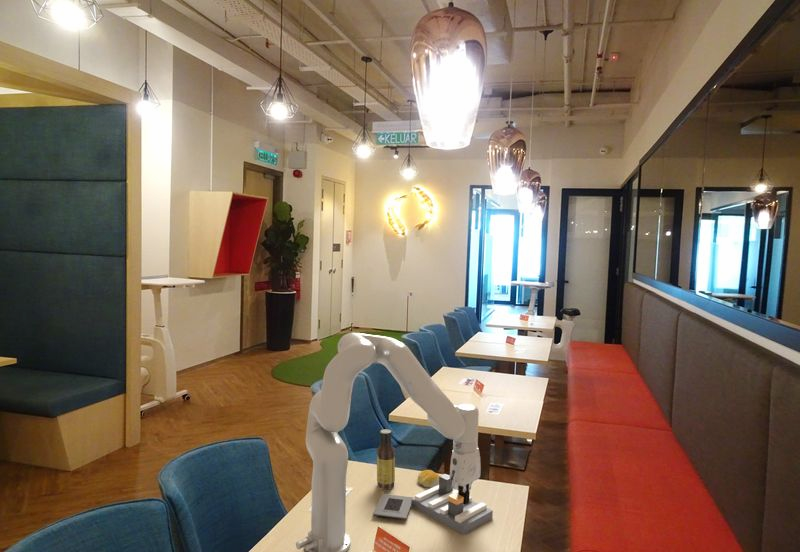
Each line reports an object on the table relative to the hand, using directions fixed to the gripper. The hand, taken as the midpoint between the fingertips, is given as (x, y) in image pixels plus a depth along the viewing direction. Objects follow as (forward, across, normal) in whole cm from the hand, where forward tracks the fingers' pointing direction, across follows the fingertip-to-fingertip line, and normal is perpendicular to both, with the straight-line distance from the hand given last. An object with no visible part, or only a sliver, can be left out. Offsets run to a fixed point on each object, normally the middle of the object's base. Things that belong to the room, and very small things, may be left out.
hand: (463, 502), depth 164 cm
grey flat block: (+6, -13, +18) cm, 23 cm away
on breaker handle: (+2, +4, +11) cm, 12 cm away
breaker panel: (+5, 0, +5) cm, 7 cm away
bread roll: (+6, +10, +24) cm, 26 cm away
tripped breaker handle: (+2, -4, 0) cm, 4 cm away
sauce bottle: (+5, -4, +32) cm, 33 cm away
